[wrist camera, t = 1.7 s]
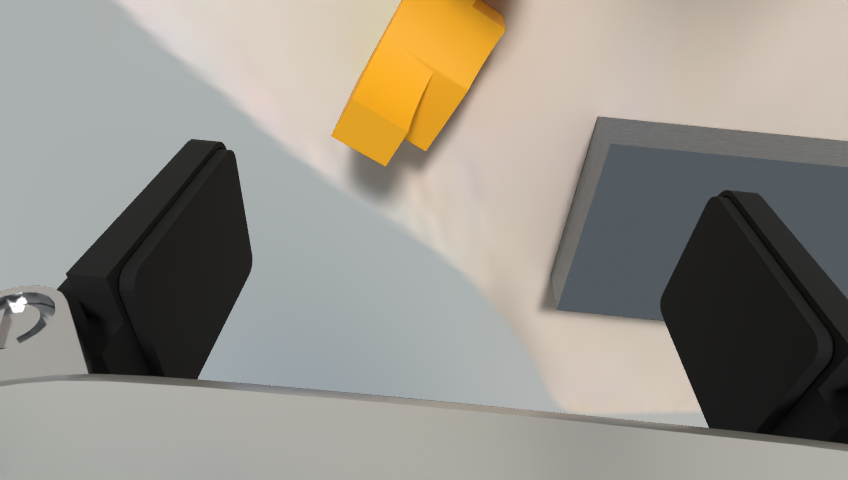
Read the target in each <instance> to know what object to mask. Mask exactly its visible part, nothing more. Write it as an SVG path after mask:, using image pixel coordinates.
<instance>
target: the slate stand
mask: <svg viewBox="0 0 848 480" xmlns="http://www.w3.org/2000/svg"><path fill="white" fill-rule="evenodd" d="M725 190H731V191H742V192H752V193H758V194H759V195H760V196H761V197H762V198H763V199H764V200H765V201H766V202H767V204H768V205H769V206H770V207H771V208H772V210H773V211H774V212H775V213H776V214H777V216H778V217H779V218H780V219H781V220H782V222H783V223H784V224H785V225H786V226H787V228H788V229H789V230H790V231H791V232H792V233H793V235H794V236H795V237H796V238H797V239H798V241H799V242H800V243H801V244H802V245H803V247H804V248H805V249H806V250H807V251H808V253H809V254H810V255H811V256H812V257H813V259H814V260H815V261H816V262H817V263H818V264H819V266H820V267H821V268H822V269H823V270H824V272H825V273H826V274H827V275H828V276H829V278H830V279H831V280H832V281H833V282H834V284H835V285H836V286H837V287H838V288H839V290H840V291H841V292H842V293H843V294H844V295H845V297H846V298H847V299H848V141H838V140H828V139H818V138H808V137H798V136H788V135H778V134H768V133H758V132H748V131H738V130H727V129H717V128H707V127H697V126H687V125H677V124H667V123H657V122H647V121H637V120H627V119H616V118H606V117H598V119H597V122H596V126H595V129H594V132H593V136H592V139H591V143H590V146H589V149H588V153H587V156H586V159H585V163H584V166H583V169H582V173H581V176H580V179H579V183H578V186H577V189H576V193H575V196H574V199H573V203H572V206H571V210H570V213H569V216H568V220H567V223H566V226H565V230H564V233H563V236H562V240H561V243H560V246H559V250H558V253H557V256H556V260H555V263H554V267H553V270H552V273H551V281H552V287H553V292H554V298H555V304H556V309H557V310H565V311H575V312H584V313H594V314H603V315H613V316H623V317H632V318H642V319H651V320H661V321H664V319H663V316H662V314H661V310H660V301H661V297H662V294H663V292H664V290H665V288H666V286H667V284H668V282H669V280H670V278H671V276H672V273H673V271H674V269H675V267H676V265H677V263H678V261H679V259H680V257H681V255H682V253H683V251H684V249H685V247H686V245H687V243H688V241H689V239H690V237H691V235H692V232H693V230H694V228H695V226H696V224H697V222H698V220H699V218H700V216H701V214H702V212H703V210H704V208H705V206H706V204H707V202H708V201H709V199H710V198H711V197H714V196H718V195H719V194H720V193H721V192H722V191H725Z"/></svg>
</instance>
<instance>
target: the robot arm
mask: <svg viewBox="0 0 848 480" xmlns="http://www.w3.org/2000/svg"><path fill="white" fill-rule="evenodd" d="M251 267H252V252H251V246H250V241H249V234H248V228H247V222H246V216H245V210H244V204H243V199H242V193H241V187H240V181H239V175H238V169H237V163H236V158H235V154H234V152H233V151H232V150H226V147H225V145H224V144H223V143H222V142H216V141H206V140H195V139H191V140H190V141H188V142H187V143H186V144H185V145H184V147H183V148H182V149H181V150H180V151H179V152H178V153H177V154H176V155H175V156H174V157H173V158H172V160H171V161H170V162H169V163H168V164H167V165H166V166H165V167H164V168H163V169H162V170H161V171H160V172H159V174H158V175H157V176H156V177H155V178H154V179H153V180H152V181H151V182H150V183H149V184H148V185H147V187H146V188H145V189H144V190H143V191H142V192H141V193H140V194H139V195H138V196H137V197H136V199H134V201H133V202H132V203H131V204H130V205H129V206H128V207H127V208H126V209H125V210H124V211H123V213H122V214H121V215H120V216H119V217H118V218H117V219H116V220H115V221H114V222H113V223H112V224H111V226H110V227H109V228H108V229H107V230H106V231H105V232H104V233H103V234H102V235H101V236H100V237H99V238H98V239H97V241H96V242H95V243H94V244H93V245H92V246H91V247H90V248H89V249H88V250H87V251H86V253H85V254H84V255H83V256H82V257H81V258H80V259H79V260H78V261H77V262H76V263H75V264H74V265H73V267H72V268H71V269H70V270H69V271H68V272H67V273H66V275H67V277H68V278H67V279H66V280H65V281H64V282H63V283H62V284H61V285H60V286H59V288H58V289H57V290H56V289H54V288H52V287H46V286H40V285H32V286H20V287H15V288H11V289H6V290H3V291H0V480H848V299H847V298H846V297H845V295H844V294H843V293H842V292H841V291H840V290H839V288H838V287H837V286H836V285H835V284H834V282H833V281H832V280H831V279H830V278H829V276H828V275H827V274H826V273H825V272H824V270H823V269H822V268H821V267H820V266H819V264H818V263H817V262H816V261H815V260H814V259H813V257H812V256H811V255H810V254H809V253H808V251H807V250H806V249H805V248H804V247H803V245H802V244H801V243H800V242H799V241H798V239H797V238H796V237H795V236H794V235H793V233H792V232H791V231H790V230H789V229H788V228H787V226H786V225H785V224H784V223H783V222H782V220H781V219H780V218H779V217H778V216H777V214H776V213H775V212H774V211H773V210H772V208H771V207H770V206H769V205H768V204H767V202H766V201H765V200H764V199H763V198H762V197H761V196H760V195H759V194H758V193H752V192H742V191H731V190H725V191H722V192H721V193H720V194H719V195H718V196H714V197H711V198H710V199H709V201H708V202H707V204H706V206H705V208H704V210H703V212H702V214H701V216H700V218H699V220H698V222H697V224H696V226H695V228H694V230H693V232H692V235H691V237H690V239H689V241H688V243H687V245H686V247H685V249H684V251H683V253H682V255H681V257H680V259H679V261H678V263H677V265H676V267H675V269H674V271H673V273H672V276H671V278H670V280H669V282H668V284H667V286H666V288H665V290H664V292H663V294H662V297H661V301H660V310H661V314H662V316H663V319H664V321H665V323H666V326H667V328H668V331H669V333H670V335H671V338H672V340H673V343H674V345H675V347H676V350H677V352H678V355H679V357H680V359H681V362H682V364H683V367H684V369H685V371H686V374H687V376H688V379H689V381H690V383H691V386H692V388H693V390H694V393H695V395H696V398H697V400H698V402H699V405H700V407H701V410H702V412H703V414H704V417H705V419H706V422H707V424H708V426H709V428H703V427H693V426H683V425H673V424H663V423H654V422H644V421H634V420H624V419H614V418H605V417H596V416H586V415H576V414H565V413H555V412H545V411H534V410H524V409H515V408H504V407H494V406H483V405H473V404H463V403H453V402H442V401H431V400H421V399H411V398H401V397H390V396H379V395H368V394H357V393H346V392H336V391H324V390H314V389H302V388H292V387H281V386H271V385H260V384H248V383H235V382H222V381H209V380H197V378H198V376H199V374H200V372H201V370H202V368H203V366H204V364H205V362H206V360H207V358H208V356H209V354H210V352H211V350H212V348H213V346H214V344H215V342H216V340H217V338H218V336H219V334H220V332H221V330H222V328H223V326H224V324H225V322H226V320H227V318H228V316H229V314H230V312H231V310H232V308H233V306H234V304H235V302H236V300H237V298H238V296H239V294H240V292H241V290H242V288H243V286H244V284H245V282H246V280H247V278H248V276H249V274H250V271H251Z"/></svg>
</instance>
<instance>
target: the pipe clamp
mask: <svg viewBox="0 0 848 480" xmlns="http://www.w3.org/2000/svg"><path fill="white" fill-rule="evenodd" d="M505 30H506V29H505V23H504V17H503V16H502V15H501V14H500V13H498V12H497V11H495V10H494V9H492V8H491V7H490V6H488V5H487V4H485V3H484V2H482V1H481V0H402V1H401V2H400V4H399V6H398V8H397V10H396V12H395V13H394V15H393V17H392V19H391V21H390V23H389V24H388V26H387V28H386V30H385V32H384V34H383V35H382V37H381V39H380V41H379V43H378V44H377V46H376V48H375V50H374V52H373V54H372V55H371V57H370V59H369V61H368V63H367V65H366V66H365V68H364V70H363V72H362V74H361V76H360V77H359V79H358V81H357V83H356V85H355V87H354V89H353V91H352V94H351V96H350V98H349V100H348V102H347V104H346V106H345V108H344V110H343V112H342V114H341V116H340V119H339V121H338V123H337V125H336V127H335V129H334V131H333V133H332V135H331V136H332V137H334V138H335V139H337V140H339V141H341V142H343V143H344V144H346V145H348V146H350V147H351V148H353V149H355V150H357V151H359V152H360V153H362V154H364V155H366V156H367V157H369V158H371V159H373V160H375V161H376V162H378V163H380V164H382V165H383V166H385V167H386V165H387V164H388V162H389V161H390V159H391V158H392V156H393V154H394V153H395V151H396V150H397V148H398V147H399V145H400V144H401V142H402V141H403V139H405V140H407V141H409V142H411V143H412V144H414V145H416V146H417V147H419V148H421V149H423V150H424V151H426V150H427V149H428V147H429V146H430V145H431V143H432V142H433V140H434V139H435V137H436V136H437V135H438V133H439V132H440V130H441V129H442V127H443V126H444V125H445V123H446V122H447V120H448V119H449V117H450V116H451V115H452V113H453V112H454V110H455V109H456V107H457V106H458V105H459V103H460V102H461V100H462V99H463V97H464V96H465V95H466V93H467V92H468V90H469V88H470V86H471V84H472V82H473V80H474V79H475V77H476V75H477V73H478V72H479V70H480V68H481V67H482V65H483V63H484V62H485V60H486V59H487V57H488V55H489V54H490V52H491V51H492V49H493V48H494V46H495V45H496V43H497V42H498V40H499V39H500V37H501V36H502V35H503V33H504V32H505Z"/></svg>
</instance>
